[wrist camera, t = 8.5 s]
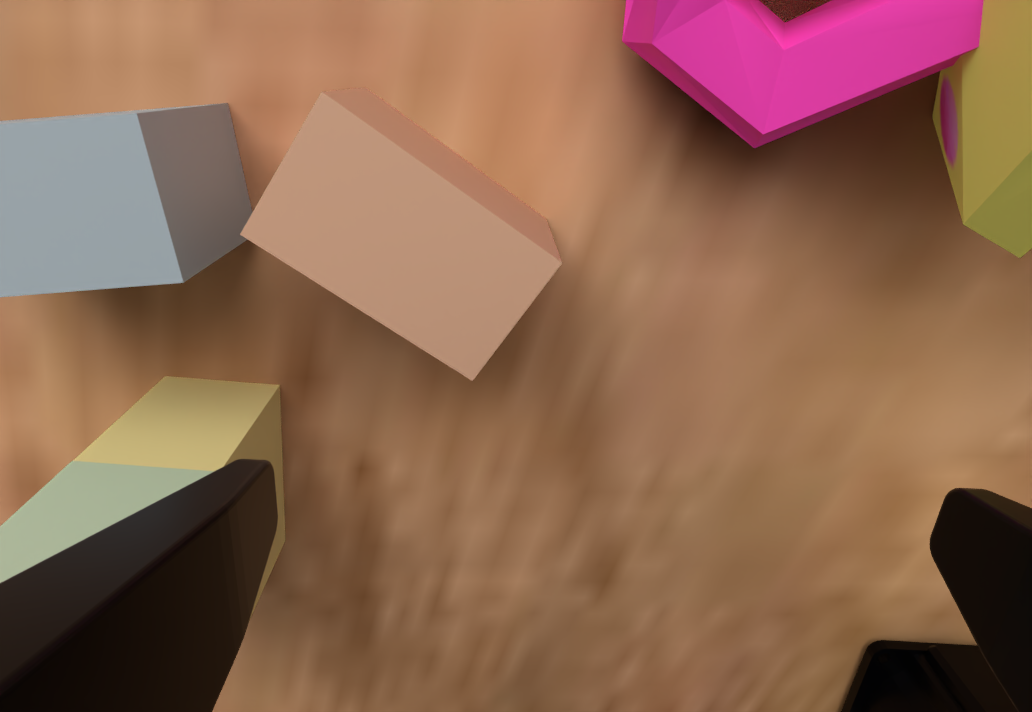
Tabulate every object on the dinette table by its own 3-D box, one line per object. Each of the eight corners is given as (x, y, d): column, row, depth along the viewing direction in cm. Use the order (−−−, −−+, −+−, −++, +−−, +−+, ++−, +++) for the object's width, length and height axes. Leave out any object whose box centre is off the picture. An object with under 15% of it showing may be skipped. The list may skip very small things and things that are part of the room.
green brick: (233, 654, 19) (148, 843, 14) (104, 646, 19) (-26, 836, 14) (220, 471, 16) (113, 626, 12) (72, 460, 16) (-96, 613, 12)
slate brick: (228, 103, 18) (136, 113, 13) (257, 232, 19) (183, 282, 15) (5, 120, 18) (-165, 137, 13) (50, 248, 19) (-90, 303, 15)
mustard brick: (285, 540, 23) (234, 654, 19) (182, 533, 23) (104, 647, 19) (280, 384, 21) (220, 471, 16) (165, 375, 21) (71, 461, 16)
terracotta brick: (546, 217, 19) (562, 262, 15) (477, 311, 20) (472, 381, 16) (365, 87, 18) (321, 91, 13) (301, 195, 19) (239, 234, 14)
